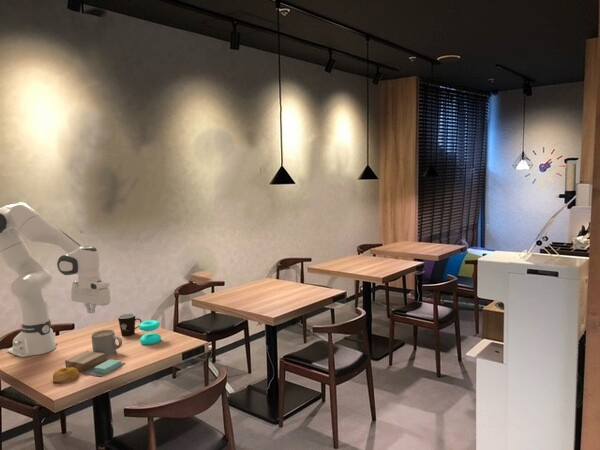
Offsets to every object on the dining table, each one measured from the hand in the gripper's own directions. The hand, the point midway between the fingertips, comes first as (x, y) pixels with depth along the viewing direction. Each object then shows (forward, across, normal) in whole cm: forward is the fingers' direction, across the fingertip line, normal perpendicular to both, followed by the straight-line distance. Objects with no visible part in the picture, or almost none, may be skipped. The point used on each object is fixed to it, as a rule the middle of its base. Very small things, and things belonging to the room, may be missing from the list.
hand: (91, 312), depth 213 cm
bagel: (+23, +4, -18) cm, 29 cm away
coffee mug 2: (+22, -9, +32) cm, 40 cm away
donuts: (+22, +9, +28) cm, 36 cm away
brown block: (+22, +2, -6) cm, 23 cm away
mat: (+22, +12, -5) cm, 26 cm away
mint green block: (+19, +14, -6) cm, 25 cm away
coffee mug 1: (+22, 0, +8) cm, 24 cm away
